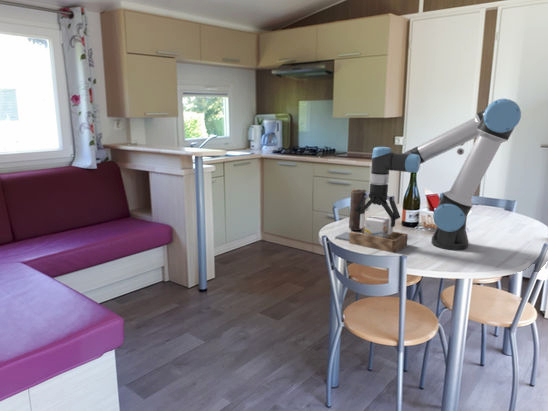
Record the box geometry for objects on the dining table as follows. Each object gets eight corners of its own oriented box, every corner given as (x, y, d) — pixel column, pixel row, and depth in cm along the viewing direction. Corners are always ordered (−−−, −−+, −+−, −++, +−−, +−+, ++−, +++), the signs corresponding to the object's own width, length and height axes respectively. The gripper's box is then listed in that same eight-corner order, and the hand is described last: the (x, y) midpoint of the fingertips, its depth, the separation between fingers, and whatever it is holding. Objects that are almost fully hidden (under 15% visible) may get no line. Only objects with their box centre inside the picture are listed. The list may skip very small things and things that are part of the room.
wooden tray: (406, 244, 194) (407, 234, 193) (394, 252, 184) (395, 241, 183) (363, 236, 207) (363, 225, 205) (349, 243, 196) (349, 232, 195)
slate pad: (361, 236, 206) (361, 234, 206) (350, 241, 198) (350, 239, 198) (346, 233, 211) (346, 231, 211) (335, 238, 203) (335, 236, 203)
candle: (363, 232, 212) (366, 191, 208) (348, 231, 214) (350, 191, 209) (364, 228, 220) (366, 188, 215) (349, 227, 221) (350, 188, 217)
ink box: (381, 247, 190) (383, 221, 187) (363, 244, 194) (364, 218, 192) (388, 242, 197) (389, 217, 195) (370, 239, 202) (371, 214, 199)
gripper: (410, 185, 185) (406, 234, 190) (357, 178, 200) (354, 223, 205) (403, 188, 179) (399, 238, 184) (349, 180, 194) (346, 227, 199)
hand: (375, 230), depth 195 cm, fingers open, 13 cm apart
